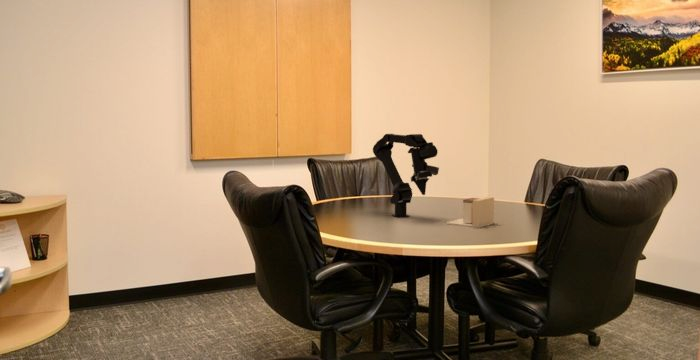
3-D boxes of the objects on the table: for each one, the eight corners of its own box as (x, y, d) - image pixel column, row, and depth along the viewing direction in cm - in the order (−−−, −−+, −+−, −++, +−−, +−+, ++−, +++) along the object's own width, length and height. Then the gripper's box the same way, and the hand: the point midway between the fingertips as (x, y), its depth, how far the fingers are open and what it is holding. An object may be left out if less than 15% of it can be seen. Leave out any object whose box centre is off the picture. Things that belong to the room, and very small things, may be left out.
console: (445, 223, 278) (446, 197, 277) (461, 219, 289) (461, 194, 288) (478, 227, 268) (479, 200, 267) (493, 223, 279) (494, 197, 278)
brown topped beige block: (462, 222, 276) (463, 199, 275) (471, 219, 282) (472, 197, 281) (471, 223, 274) (471, 200, 273) (480, 220, 280) (480, 198, 279)
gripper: (440, 156, 280) (446, 190, 279) (431, 161, 299) (436, 194, 298) (416, 159, 279) (421, 194, 278) (408, 164, 298) (413, 197, 296)
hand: (423, 194), depth 287 cm, fingers closed
